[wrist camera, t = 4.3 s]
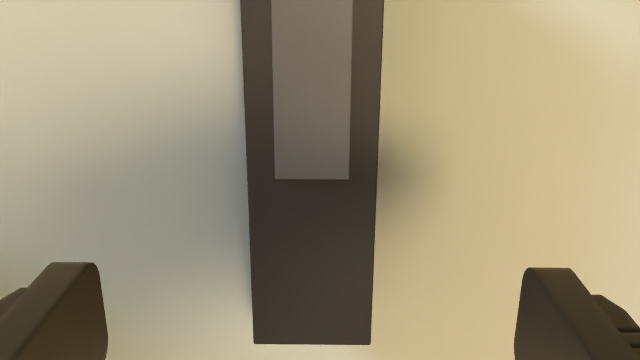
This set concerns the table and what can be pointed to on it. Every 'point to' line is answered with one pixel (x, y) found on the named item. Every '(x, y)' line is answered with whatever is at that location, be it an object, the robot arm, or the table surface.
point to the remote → (312, 166)
